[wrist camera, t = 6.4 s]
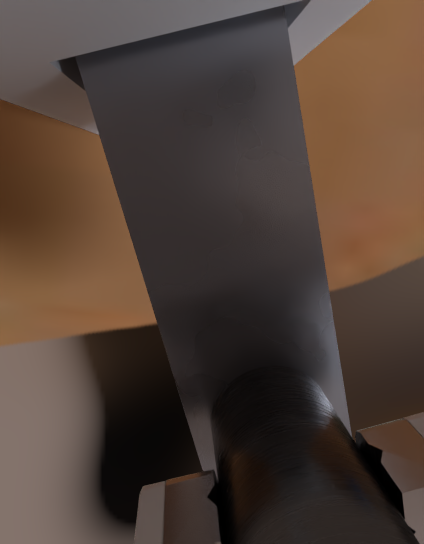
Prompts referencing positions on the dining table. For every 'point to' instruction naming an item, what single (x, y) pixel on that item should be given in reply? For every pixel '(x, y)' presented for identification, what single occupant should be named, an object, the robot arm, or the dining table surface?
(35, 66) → the block
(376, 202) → the dining table surface
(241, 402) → the shaft
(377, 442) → the robot arm
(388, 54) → the dining table surface
